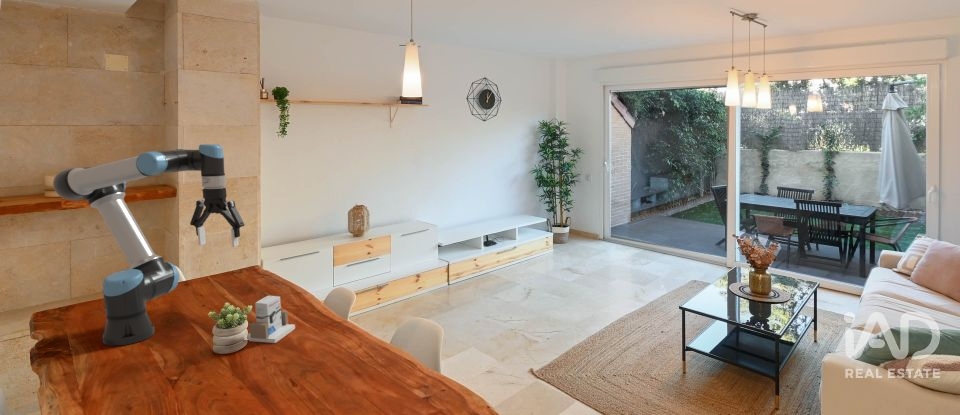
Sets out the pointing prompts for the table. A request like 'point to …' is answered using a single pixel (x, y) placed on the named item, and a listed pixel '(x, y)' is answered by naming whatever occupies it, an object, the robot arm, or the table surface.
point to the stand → (262, 335)
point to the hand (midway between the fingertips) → (219, 245)
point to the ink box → (269, 312)
